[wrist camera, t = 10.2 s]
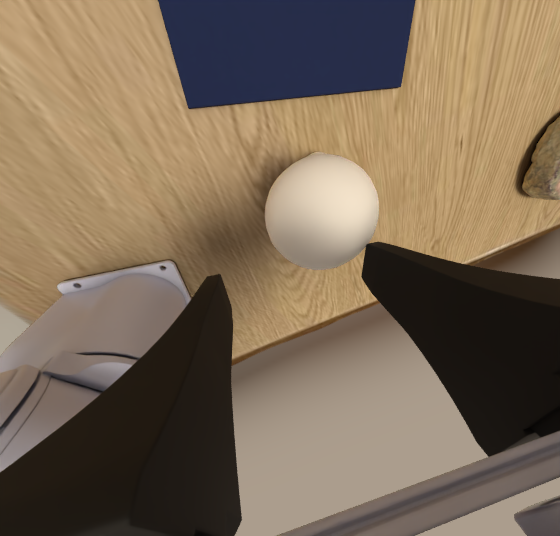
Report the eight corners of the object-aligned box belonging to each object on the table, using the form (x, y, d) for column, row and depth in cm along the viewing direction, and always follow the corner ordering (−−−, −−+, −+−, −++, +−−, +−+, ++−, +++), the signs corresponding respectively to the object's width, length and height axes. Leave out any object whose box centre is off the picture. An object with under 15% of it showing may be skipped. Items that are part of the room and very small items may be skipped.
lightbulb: (269, 181, 18) (240, 268, 11) (301, 103, 14) (288, 153, 6) (327, 209, 20) (337, 303, 12) (372, 145, 15) (430, 228, 8)
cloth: (188, 108, 14) (188, 108, 13) (115, -155, 9) (112, -164, 8) (398, 87, 16) (401, 86, 16) (433, -132, 11) (438, -138, 11)
